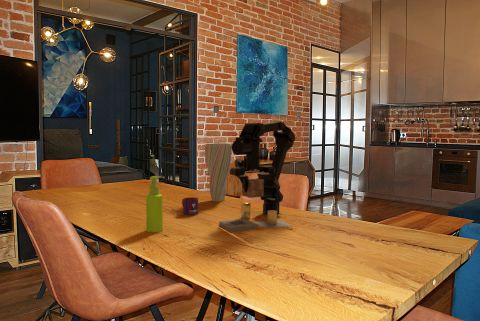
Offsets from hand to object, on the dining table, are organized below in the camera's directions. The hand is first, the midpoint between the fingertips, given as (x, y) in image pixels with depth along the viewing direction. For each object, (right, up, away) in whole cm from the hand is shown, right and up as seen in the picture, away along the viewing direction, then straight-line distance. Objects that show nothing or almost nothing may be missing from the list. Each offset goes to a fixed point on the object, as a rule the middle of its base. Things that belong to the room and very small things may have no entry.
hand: (252, 191), depth 159 cm
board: (+7, -13, -8) cm, 16 cm away
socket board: (-6, -13, -13) cm, 19 cm away
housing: (0, -2, 0) cm, 2 cm away
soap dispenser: (-36, -13, -16) cm, 42 cm away
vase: (-17, -9, +45) cm, 49 cm away
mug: (-28, -11, +14) cm, 33 cm away
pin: (-3, -12, +2) cm, 12 cm away
